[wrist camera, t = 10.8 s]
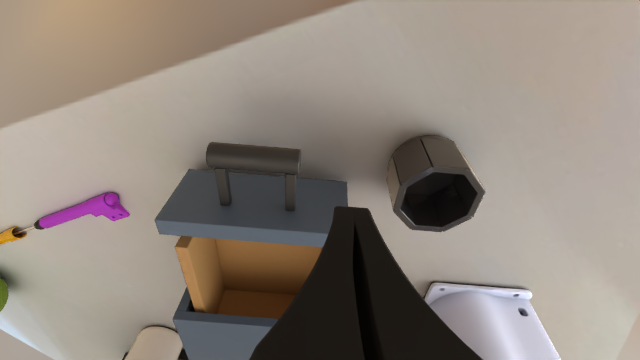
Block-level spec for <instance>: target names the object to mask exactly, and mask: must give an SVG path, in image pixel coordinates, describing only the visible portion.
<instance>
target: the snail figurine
mask: <svg viewBox="0 0 640 360" xmlns="http://www.w3.org/2000/svg"><path fill="white" fill-rule="evenodd" d="M7 299H8V287H7V285H6V283H5V281H4V280H3V279H2V278H0V311H1V310H2V309H3V307H4V306H5V304H6V302H7Z"/></svg>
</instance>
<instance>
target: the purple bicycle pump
mask: <svg viewBox="0 0 640 360" xmlns="http://www.w3.org/2000/svg"><path fill="white" fill-rule="evenodd" d="M87 214H92V215H94V216H96V217H97V216H100V215H103V216H105V217H107V218H109V219H110V220H112V221H116V220H119V219H122V218H125V217H128V216H129V215H130V214H129V213H128V212H127V211H126V210H125V209H124V208H123V207H122V206H121V205H120V204H119V198H118V196H117V195H116V194H114V193H106V194H103V195H100V196H97V197H95V198H92V199H89V200H87V201H86V202H84V203H81V204H79V205H76V206H73V207H71V208H68V209H65V210H62V211H60V212H57V213H54V214H51V215H49V216H46V217H43V218H41V219H40V220H37V221H36V222H35V223H34V226H32V227H29V228H26V229H23V230H20V231H18V232H15V233H12V230H13V229H14V228H15V227H13V228H10V229H8V230H6V231H4V232H2V233H0V245H1V244H3V243H6V242H9V241H15V240H18V239H21V238H23V237H25V236H26V234H27V233H26V234H23V235H20V236H18V235H17V234H19V233H22V232H25V231H28V230H31V229H33V228H36V229H45V228H50V227H53V226H56V225H59V224H61V223H64V222H67V221H70V220H73V219H76V218H79V217H81V216H84V215H87ZM16 227H18V226H16ZM14 235H17V236H14Z"/></svg>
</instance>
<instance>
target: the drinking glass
mask: <svg viewBox="0 0 640 360" xmlns="http://www.w3.org/2000/svg"><path fill="white" fill-rule="evenodd" d="M182 347H183V344H182V342H181V339H180V337H179V334H178V333H176V332H175V331H173V330H171V329H168V328H164V327H148V328H145V329H143V330H142V331H141V332H140V333H139V334H138V336H137V338H136V340H135V342H134V344H133V346H132V348H131V349H130V351H129V353H128V354H127V356H126V358H125V359H124V360H178V357H179V355H180V352H181V350H182Z"/></svg>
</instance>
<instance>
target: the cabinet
mask: <svg viewBox="0 0 640 360" xmlns="http://www.w3.org/2000/svg"><path fill="white" fill-rule="evenodd" d="M278 320H279V319H275V318H262V317H249V316H237V315H224V314H212V313H199V312H195V309H194V306H193V303H192V300H191V297H190V293H189V290H188V287H187V288H186V290H185V292H184V295H183V297H182V299H181V301H180V304H179V306H178V308H177V311H176V312H175V315H174V317H173V322H174V324H175V327H176V329H177V332H178V334H179V337H180V339H181V342H182V344H183V347H184V349H185V352H186V354H187V356H188V359H189V360H249V359H250V357H251V355H252V353H253V351H254V349H255V347H256V346H257V344H258V343H259V342H260V341H261V340H262V339H263V337H264V336H265V335H266V334H267V333H268V332H269V330H270V329H271V328H272V327H273V326H274V325H275V323H276V322H277V321H278Z"/></svg>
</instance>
